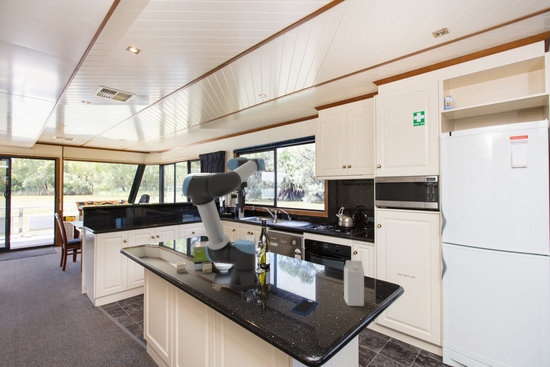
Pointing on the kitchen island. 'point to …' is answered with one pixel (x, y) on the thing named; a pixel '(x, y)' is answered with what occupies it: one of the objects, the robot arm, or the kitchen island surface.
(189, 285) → the kitchen island surface
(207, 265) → the marked block
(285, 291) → the kitchen island surface
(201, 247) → the tea box
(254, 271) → the robot arm
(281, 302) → the kitchen island surface
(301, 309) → the cell phone
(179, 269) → the marked block
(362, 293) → the milk carton
